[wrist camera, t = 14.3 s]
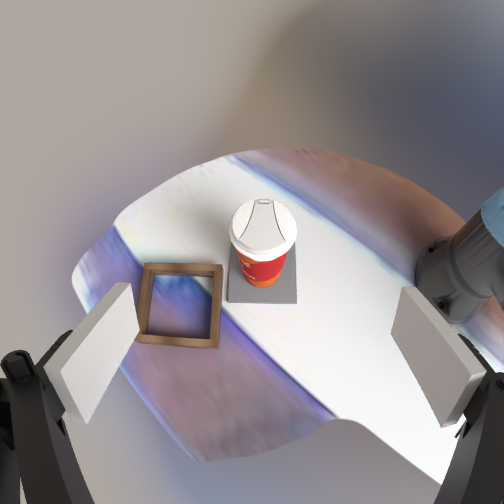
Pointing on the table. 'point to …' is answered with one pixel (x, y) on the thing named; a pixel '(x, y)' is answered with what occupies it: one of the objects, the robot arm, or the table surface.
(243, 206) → the paper cup
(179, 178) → the table surface
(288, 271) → the mat
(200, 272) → the brown square open frame
